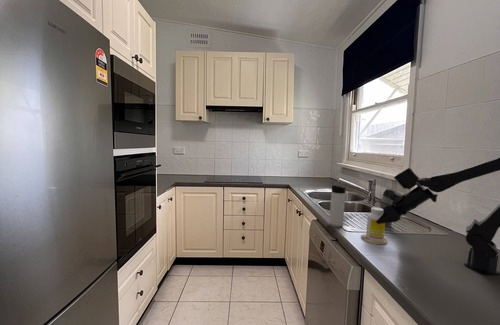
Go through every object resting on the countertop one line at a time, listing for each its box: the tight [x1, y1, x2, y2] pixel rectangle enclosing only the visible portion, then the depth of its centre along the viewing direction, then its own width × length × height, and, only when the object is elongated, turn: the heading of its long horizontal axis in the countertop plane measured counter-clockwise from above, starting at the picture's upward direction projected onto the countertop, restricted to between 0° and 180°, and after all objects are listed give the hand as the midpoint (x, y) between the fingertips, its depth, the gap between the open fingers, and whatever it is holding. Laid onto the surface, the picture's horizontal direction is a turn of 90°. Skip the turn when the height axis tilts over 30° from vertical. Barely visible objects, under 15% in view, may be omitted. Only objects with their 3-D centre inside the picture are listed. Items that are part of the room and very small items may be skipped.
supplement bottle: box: [365, 206, 386, 241], centre depth 103 cm, size 7×7×13 cm
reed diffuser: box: [379, 185, 393, 228], centre depth 123 cm, size 7×7×20 cm
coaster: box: [360, 233, 389, 246], centre depth 104 cm, size 10×10×1 cm
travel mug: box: [328, 184, 346, 229], centre depth 119 cm, size 6×7×20 cm
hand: (380, 220), depth 102 cm, fingers open, 9 cm apart
